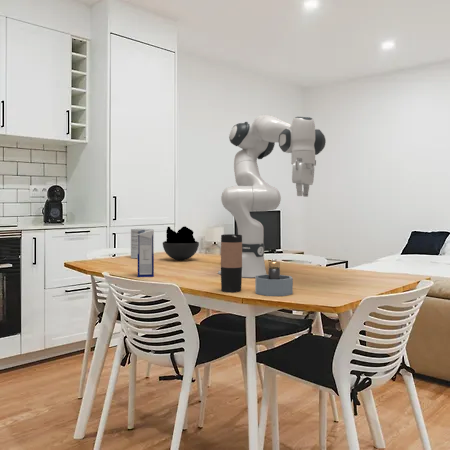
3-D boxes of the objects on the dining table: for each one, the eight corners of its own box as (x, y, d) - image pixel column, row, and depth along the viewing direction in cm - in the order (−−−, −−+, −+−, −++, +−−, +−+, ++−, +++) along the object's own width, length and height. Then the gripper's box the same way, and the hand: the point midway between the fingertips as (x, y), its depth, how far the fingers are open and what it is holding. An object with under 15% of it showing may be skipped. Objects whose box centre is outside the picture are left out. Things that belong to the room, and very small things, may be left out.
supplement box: (142, 259, 277) (142, 229, 276) (130, 258, 282) (130, 228, 281) (153, 257, 285) (153, 228, 284) (141, 256, 290) (141, 228, 289)
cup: (248, 292, 173) (248, 276, 173) (271, 288, 182) (271, 273, 182) (276, 297, 164) (276, 280, 164) (299, 292, 173) (299, 277, 173)
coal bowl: (203, 259, 280) (203, 225, 279) (192, 263, 260) (193, 227, 260) (169, 258, 284) (169, 225, 284) (157, 261, 265) (157, 226, 264)
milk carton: (153, 276, 210) (153, 229, 209) (137, 277, 208) (137, 229, 208) (153, 274, 217) (153, 229, 216) (137, 274, 215) (137, 229, 215)
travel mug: (224, 288, 182) (224, 234, 181) (244, 289, 179) (244, 234, 179) (217, 291, 174) (218, 235, 173) (238, 293, 172) (239, 235, 171)
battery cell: (266, 289, 175) (266, 259, 174) (276, 289, 176) (277, 258, 176) (271, 291, 171) (271, 260, 171) (281, 290, 172) (281, 259, 172)
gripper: (305, 156, 175) (304, 195, 176) (316, 161, 194) (316, 196, 195) (287, 157, 177) (287, 195, 178) (301, 162, 196) (300, 196, 197)
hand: (302, 196), depth 186 cm, fingers open, 8 cm apart
